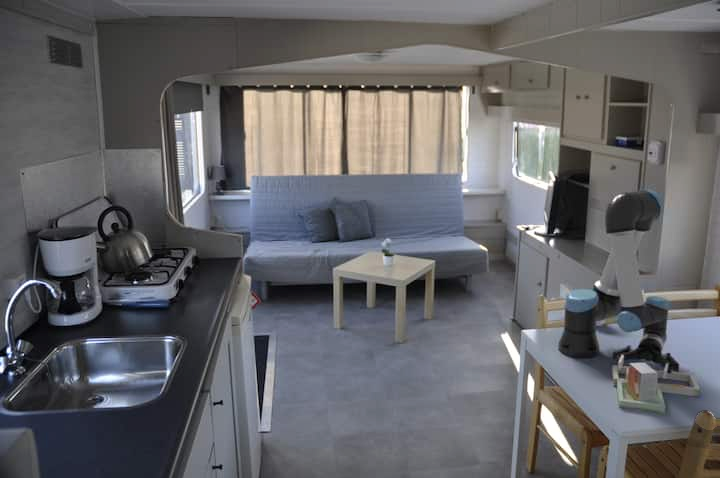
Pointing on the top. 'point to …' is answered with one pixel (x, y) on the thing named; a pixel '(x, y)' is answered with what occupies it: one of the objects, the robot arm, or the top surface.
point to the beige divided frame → (672, 388)
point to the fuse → (626, 372)
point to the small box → (642, 382)
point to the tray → (631, 403)
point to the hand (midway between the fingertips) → (641, 370)
